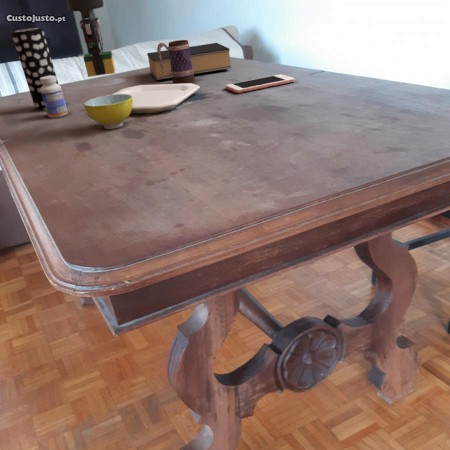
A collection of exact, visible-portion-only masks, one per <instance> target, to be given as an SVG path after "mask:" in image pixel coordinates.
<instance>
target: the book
mask: <svg viewBox="0 0 450 450" xmlns="http://www.w3.org/2000/svg"><path fill="white" fill-rule="evenodd" d="M189 49H190V55H191V61H192V67H193V70H194V75H197V74H204V73H209V72H216V71H221V72H224V71H226V70H229V69H232V66H231V56H230V47H227V46H225V45H223V44H220V43H218V42H213V43H206V44H199V45H192V46H189ZM160 53H161V57H162V63H163V69H164V72H165V73H171V63H170V54H169V50H167V49H166V50H160ZM146 55H147V58H148V63H149V72H150V73H151V74H152V76H153V77H154V78H155V79H156V80H157V81H159V80H160V81H162V82H163V81H165V80H166V79H172V76H170V75H164V74H163V73H162V71H161V67H160V61H159V56H158V52H157V51H152V52H147V53H146Z"/></svg>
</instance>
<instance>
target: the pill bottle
mask: <svg viewBox="0 0 450 450" xmlns="http://www.w3.org/2000/svg"><path fill="white" fill-rule="evenodd" d="M56 77H57V76H56ZM56 77H55V76H45V77H41V78H40V81H41V84H42V85H43V86H42V87H41V89H40V91H41V94H42V97H43V101H44V104H45V107H46V111H45V112H46V114H47V116H48V118H51V119H54V118H55V119H57V118H62V117H64V116H66V115H68V114H69V112H68V108H67V104H66V100H65V96H64V93H63V89H62V86H61V85H60V84H59V83H58V84H59V85H58V84H56V82H57V80H58V79H57V80H56Z"/></svg>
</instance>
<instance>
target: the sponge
mask: <svg viewBox="0 0 450 450" xmlns="http://www.w3.org/2000/svg"><path fill="white" fill-rule="evenodd" d="M82 58H83V62H84V66H85V69H86V74H87V77H88V78H91V77H97V76H105V75H111V74H115V73H116V65H115V62H114V61H115V60H114V56H113V53H112V50H106V51H102V59H103V63H104V67H105V74H101V75H96V73H95V70H94V65H93V61H92V56H90V55H89V53H86V54H84V55H83V57H82Z"/></svg>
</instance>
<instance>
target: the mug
mask: <svg viewBox="0 0 450 450" xmlns="http://www.w3.org/2000/svg"><path fill="white" fill-rule="evenodd" d="M163 47H164V48H165V49H166V50H169V54H170V63H171V73H165V72H164V69H163V63H162V57H161V53H160V51H162V50H161V49H162V48H163ZM189 47H190V43H189V40H188V39H179V40H172V41H169V42H168V45H167V44H166V43H165V42H159V43H158V44H157V49H156V52H158V56H159V61H160V67H161V71H162V73H163V74H164V75H170V76H172V78H171V79H172V84H186V83H192V84H195V81H196V80H195V74H194V70H193V67H192V61H191V55H190V49H189Z"/></svg>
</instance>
